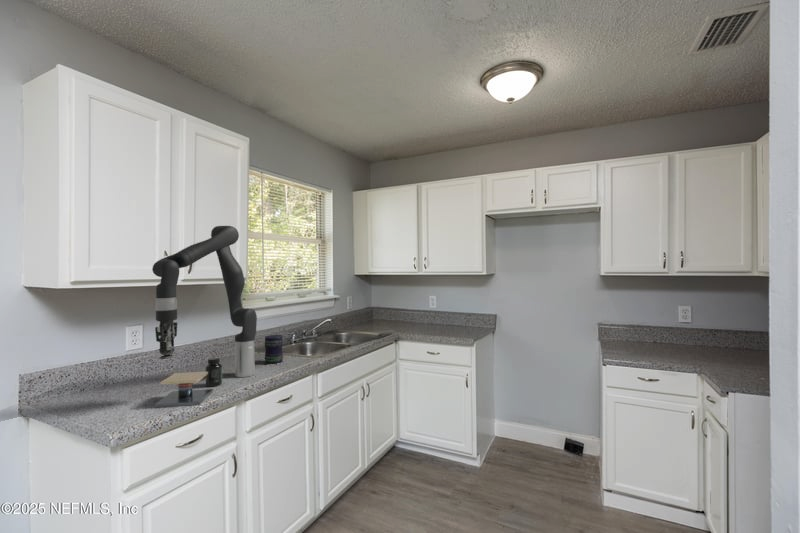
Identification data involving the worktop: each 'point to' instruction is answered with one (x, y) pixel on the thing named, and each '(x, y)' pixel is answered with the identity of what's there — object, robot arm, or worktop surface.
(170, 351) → the stone finial
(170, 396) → the stand
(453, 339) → the worktop surface
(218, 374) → the supplement bottle
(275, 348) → the storage jar
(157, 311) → the robot arm
